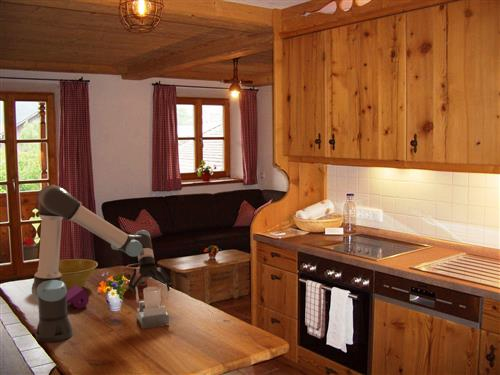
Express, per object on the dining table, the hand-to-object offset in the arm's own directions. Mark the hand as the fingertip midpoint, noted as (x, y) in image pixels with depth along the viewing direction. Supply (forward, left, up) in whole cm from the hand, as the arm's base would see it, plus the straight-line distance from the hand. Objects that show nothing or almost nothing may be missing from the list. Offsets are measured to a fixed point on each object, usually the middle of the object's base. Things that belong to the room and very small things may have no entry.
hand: (152, 299), depth 246 cm
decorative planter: (+50, +28, -12) cm, 58 cm away
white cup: (+2, +1, -6) cm, 6 cm away
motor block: (+2, +1, -11) cm, 12 cm away
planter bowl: (+46, +66, -12) cm, 81 cm away
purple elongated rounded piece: (+15, +51, -12) cm, 54 cm away
